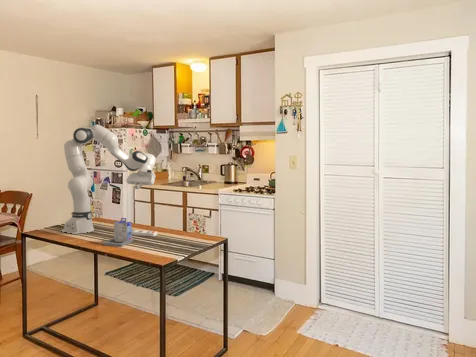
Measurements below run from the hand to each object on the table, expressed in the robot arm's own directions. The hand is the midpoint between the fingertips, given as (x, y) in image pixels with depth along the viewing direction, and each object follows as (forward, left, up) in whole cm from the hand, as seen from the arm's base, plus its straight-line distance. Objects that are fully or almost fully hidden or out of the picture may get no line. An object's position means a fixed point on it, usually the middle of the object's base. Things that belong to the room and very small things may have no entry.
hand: (136, 188), depth 266 cm
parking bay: (+5, -30, -30) cm, 43 cm away
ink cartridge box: (+6, -26, -30) cm, 40 cm away
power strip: (+7, -8, -30) cm, 32 cm away
